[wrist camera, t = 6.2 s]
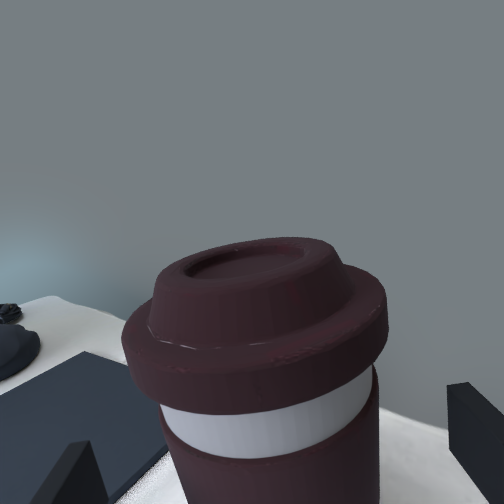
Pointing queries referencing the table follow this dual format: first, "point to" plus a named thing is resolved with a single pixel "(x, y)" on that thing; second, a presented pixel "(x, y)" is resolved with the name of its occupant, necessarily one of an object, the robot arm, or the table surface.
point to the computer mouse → (15, 342)
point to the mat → (77, 426)
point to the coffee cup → (265, 372)
